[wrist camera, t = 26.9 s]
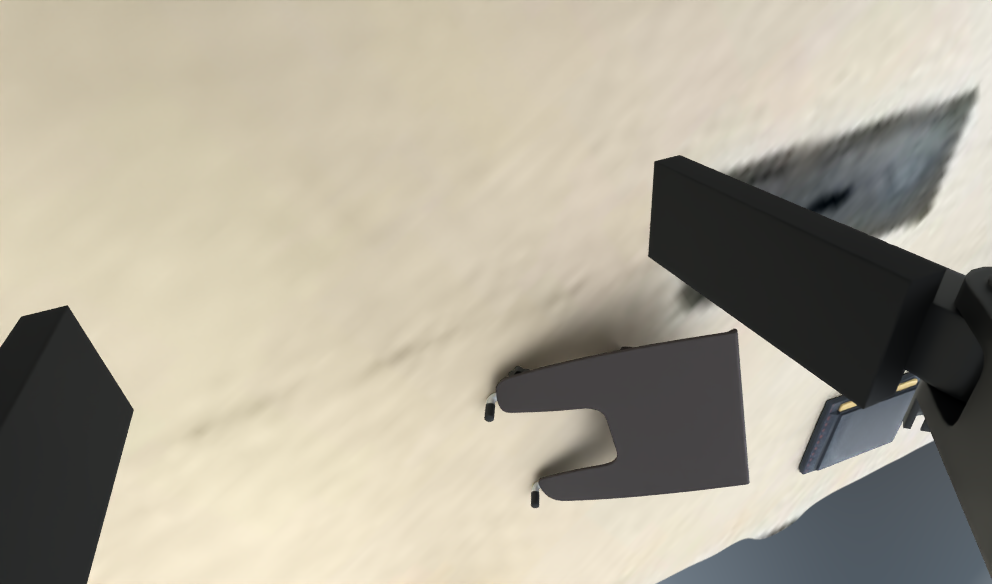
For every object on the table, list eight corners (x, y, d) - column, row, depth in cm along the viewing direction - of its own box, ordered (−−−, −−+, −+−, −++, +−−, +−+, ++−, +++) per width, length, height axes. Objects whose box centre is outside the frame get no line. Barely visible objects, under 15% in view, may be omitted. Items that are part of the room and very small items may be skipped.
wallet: (805, 481, 82) (839, 405, 75) (795, 472, 84) (827, 397, 76) (896, 447, 89) (935, 374, 81) (885, 439, 90) (923, 367, 83)
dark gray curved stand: (480, 325, 55) (470, 395, 48) (716, 277, 49) (745, 349, 42) (540, 454, 68) (540, 524, 61) (731, 429, 63) (756, 502, 56)
